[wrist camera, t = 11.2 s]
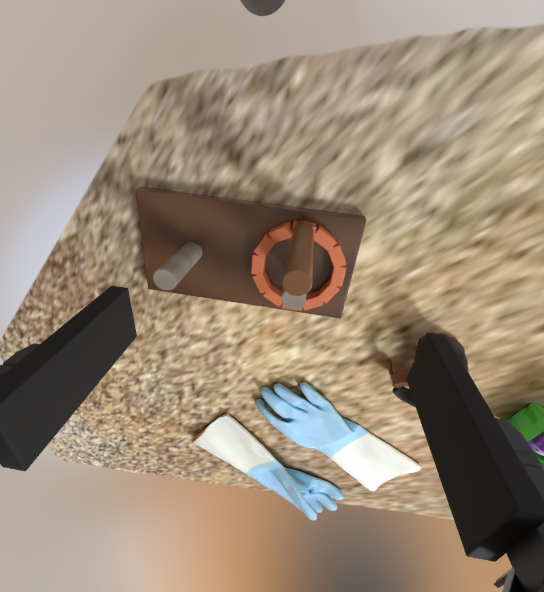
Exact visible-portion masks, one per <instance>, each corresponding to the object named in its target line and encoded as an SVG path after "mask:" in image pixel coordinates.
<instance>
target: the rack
mask: <svg viewBox="0 0 544 592" xmlns="http://www.w3.org/2000/svg"><path fill="white" fill-rule="evenodd" d="M135 191H136V199H137V206H138V214H139V221H140V229H141V237H142V244H143V252H144V259H145V267H146V275H147V282H148V289H152V290H159V291H165V292H172V293H178V294H185V295H191V296H198V297H204V298H211V299H217V300H224V301H230V302H237V303H244V304H250V305H257V306H263V307H270V308H276V309H283V310H289V311H296V312H302V313H309V314H315V315H322V316H329V317H335V318H341V316H342V312H343V308H344V304H345V300H346V296H347V293H348V289H349V285H350V281H351V277H352V274H353V270H354V266H355V262H356V258H357V254H358V251H359V247H360V243H361V239H362V235H363V231H364V228H365V224H366V218H365V216H359V215H351V214H344V213H336V212H328V211H321V210H313V209H305V208H298V207H290V206H283V205H275V204H267V203H260V202H252V201H244V200H237V199H229V198H221V197H214V196H206V195H199V194H191V193H183V192H176V191H168V190H160V189H153V188H145V187H141V188H138V189H135ZM301 220H306V221H309V222H310V223H315V224H316V228H317V227H318V226H319V225H320V226H321V227H323V228H324V229H325V230H327V231H328V232H329V233H330V234H332V235H333V236H334V237H336V239H337V241H339V243H340V246H341V249H342V252H343V255H344V257H345V261H346V272H345V276H344V280H343V284H342V287H340V290H339V291H338V292H337V293H336V294H335V295H334V296H333V297H332V298H331V299H330V300H329V301H328V302H327V303H325V302H324V301H323V305H322V306H319V307H315V308H312V309H309V310H306V311H305V310H304V308H303V306H304V305H305V303H306V295H307V294H311V293H314V292H317V291H319V290H320V289H321V288H322V287H323V286H324V285H325V283H326V282H327V281H328V280H329V279H330V276H331V271H332V267H333V264H332V261H331V258H330V256H329V253H328V251H327V250H326V249H325V248H323V247H322V246H321V245H319V244H318V243H317V242H315V241H314V243H313V277H312V287H311V289H310V291H309V292H308V293H306V294H305V295H302V296H293V295H291V294H289V293H287V292H286V291H285V289H284V288H283V285H282V280H283V276H284V271H285V267H286V262H287V257H288V253H289V248H290V244H291V239H292V237H290V238H288V239H285V240H283V241H280V242H278V243H275V244H274V246H273V247H272V248H271V250H270V251H269V252H268V253H267V255H266V259H265V272H266V274H267V276H268V278H269V280H270V282H271V284H272V285H274V286H275V287H277V288H278V289H279V290H281V291H282V292H283V293H282V298H281V300H282V303H283V305H284V306H285V307H286V308H288V309H285V308H282V304H281V305H280V306H279V307H278V306H277V305H275V304H274V303H272V302H271V301H269V300H268V299H267V298H265V297H264V296H263V294H264V293H260V291H259V289H258V287H257V285H256V283H255V282H254V280H253V278H252V276H253V274H251V270H252V255H253V253H254V250H255V248H256V246H257V245H258V244H259V242H260V241H261V240H262V238H263V237H264V235H265V234H266V233H267V232H269V231H270V229H272V228H275V227H277V226H280V225H282V224H284V223H287V222H289V221H290V222H291V224H292V226H293V222H294V221H301ZM300 308H302V311H298V309H300Z"/></svg>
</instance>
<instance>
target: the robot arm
mask: <svg viewBox="0 0 544 592" xmlns="http://www.w3.org/2000/svg"><path fill="white" fill-rule="evenodd" d="M136 337H137V334H136V329H135V324H134V318H133V313H132V308H131V302H130V297H129V292H128V288H123V287H117V286H111V287H109V288H108V289H107V290H106V291H105V292H103V293H102V294H101V295H100V296H98V297H97V298H96V299H95V300H94V301H92V302H91V303H90V304H89V305H87V306H86V307H85V308H84V309H83V310H81V311H80V312H79V313H78V314H76V315H75V316H74V317H73V318H72V319H70V320H69V321H68V322H67V323H65V324H64V325H63V326H62V327H61V328H59V329H58V330H57V331H56V332H54V333H53V334H52V335H51V336H50V337H48V338H47V339H46V340H45V341H43V342H42V343H41V344H32V345H30V346H28V347H26V348H24V349H22V350H20V351H18V352H16V353H15V354H14V355H13V356H11V357H10V358H9V359H7V360H6V361H5V362H4V363H3V365H0V464H1V466H3V467H6V468H11V469H16V470H21V471H26V470H27V469H28V468H29V467H30V465H31V464H32V463H33V462H34V460H35V459H36V458H37V457H38V456H39V454H40V453H41V452H42V451H43V450H44V448H45V447H46V446H47V445H48V443H49V442H50V441H51V440H52V439H53V437H54V436H55V435H56V434H57V433H58V431H59V430H60V429H61V428H62V426H63V425H64V424H65V423H66V422H67V420H68V419H69V418H70V417H71V416H72V414H73V413H74V412H75V411H76V409H77V408H78V407H79V406H80V405H81V403H82V402H83V401H84V400H85V399H86V397H87V396H88V395H89V394H90V392H91V391H92V390H93V389H94V388H95V386H96V385H97V384H98V383H99V382H100V380H101V379H102V378H103V377H104V375H105V374H106V373H107V372H108V371H109V369H110V368H111V367H112V366H113V365H114V363H115V362H116V361H117V360H118V358H119V357H120V356H121V355H122V354H123V352H124V351H125V350H126V349H127V348H128V346H129V345H130V344H131V343H132V341H133V340H134V339H135V338H136ZM406 380H407V383H408V386H409V389H410V392H411V395H412V398H413V401H414V403H415V406H416V409H417V412H418V415H419V418H420V421H421V424H422V427H423V430H424V433H425V436H426V439H427V442H428V444H429V447H430V450H431V453H432V456H433V459H434V462H435V465H436V468H437V471H438V474H439V477H440V480H441V483H442V485H443V488H444V491H445V494H446V497H447V500H448V503H449V506H450V509H451V512H452V515H453V518H454V521H455V524H456V526H457V529H458V532H459V535H460V538H461V541H462V544H463V547H464V550H465V553H466V556H469V557H473V558H479V559H483V560H489V561H494V562H495V561H497V560H498V559H499V558H500V557H501V556H503V555H504V554H505V553H507V555H508V558H509V560H510V562H511V565H512V567H513V568H512V569H510V570H509V571H507V572H506V573H505V574H503V575H502V576H501V577H499V578H498V579H497V580H496V582H495V583H494V585H495V586H496V587H498V588H499V587H501V586H502V585H504V588H503V591H502V592H544V469H543V468H542V466H543V465H542V464H541V462H540V461H539V459H538V458H537V456H536V455H534V454H533V452H534V451H533V450H532V448H531V447H530V445H529V444H528V442H527V441H526V439H525V438H524V436H523V435H522V434H521V433H520V432H519V431H518V430H517V429H516V428H515V427H514V426H513V425H512V424H511V423H510V422H509V421H508V420H504V419H498V418H495V417H494V415H493V414H492V412H491V410H490V408H489V407H488V405H487V403H486V402H485V400H484V398H483V397H482V395H481V393H480V392H479V390H478V388H477V387H476V385H475V383H474V382H473V380H472V378H471V376H470V375H469V373H468V371H467V370H466V368H465V366H464V365H463V363H462V361H461V360H460V358H459V356H458V355H457V353H456V351H455V349H454V348H453V346H452V344H451V343H450V341H449V339H448V338H447V336H446V335H441V334H434V333H428V332H427V334H426V337H425V339H424V341H423V343H422V345H421V347H420V350H419V352H418V354H417V356H416V358H415V360H414V363H413V365H412V367H411V369H410V371H409V374H408V376H407V378H406Z"/></svg>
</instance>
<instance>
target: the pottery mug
mask: <svg viewBox="0 0 544 592" xmlns="http://www.w3.org/2000/svg"><path fill="white" fill-rule="evenodd" d="M441 335H445V334H441ZM446 336H447V335H446ZM425 337H426V335H425V336H424V337H421V338H419V339H418V343H417V344H418V347H417V350H416V354H415V357H414V360H415V358H416V356H417V354H418V352H419V350H420V347H421V345H422V343H423V341H424V339H425ZM447 338H448V339H449V341H450V343H451V344H452V346H453V348H454V349H455V351H456V353H457V355H458V356H459V358H460V360H461V361H462V363H463V365H464V366H465V368H466V370H467V371H468V363H467V359H466V356H465V351H464V348H463V346H462V345H461V344H460V343H459V342H458V341H457V340H455V339H454V338H452V337H449V336H447ZM393 367H394V364H393V362H392V361H389V374H390V377H391V380H392V382H393V386H394V388H393V393H394V394H395V395H396V396H397V397H398V398H399V399H401V400H402V401H404V402H406V403H408V404H410V405H412V406H414V407H416V406H415V403H414V401H413V398H412V395H411V392H410V390H409V389H408V388H406V387H404V386H408V383H407V380H406V378H407V376H408V374H409V371H410V369H408V370H401V371H399V372H394V373H393Z"/></svg>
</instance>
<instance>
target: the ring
mask: <svg viewBox="0 0 544 592" xmlns="http://www.w3.org/2000/svg"><path fill="white" fill-rule="evenodd" d="M290 237H292V239H291V244H290V248H289V253H288V257H287V262H286V267H285V271H284V276H283V280H282V285H283V288H284V289H285V291H286V292H287V293H289V294H291V295H293V296H302V295H305V294H306V293H308V292H309V291H310V289H311V287H312V277H313V243H314V241H315V242H317V243H318V244H319V245H321V246H322V247H323V248H325V249H326V250H327V251H328V253H329V256H330V258H331V261H332V264H333V267H332V271H331V276H330V279H329V280H328V281H327V282H326V283H325V285H324V286H323V287H322V288H321V289H320V290H319V291H317V292H314V293H311V294H307V295H306V303H305V305H304V306H303V308H304V310H305V311H306V310H309V309H312V308H315V307H319V306H322V305H323V301H324V302H325V303H327V302H328V301H329V300H330V299H331V298H332V297H333V296H334V295H335V294H336V293H337V292H338V291H339V290H340V287H342V284H343V280H344V276H345V272H346V261H345V257H344V255H343V252H342V249H341V246H340V243H339V241H337V239H336V237H334V236H333V235H332V234H330V233H329V232H328V231H327V230H325V229H324V228H323V227H321V226H320V225H319V226H318V227H317V228H316V224H315V223H310V222H309V221H306V220H301V221H294V222H293V226H292V224H291V222H290V221H289V222H287V223H284V224H282V225H280V226H277V227H275V228H272V229H270V231H269V232H267V233H266V234H265V235H264V237H263V238H262V240H261V241H260V242H259V244H258V245H257V246H256V248H255V250H254V253H253V255H252V270H251V274H253V276H252V278H253V280H254V282H255V283H256V285H257V287H258V289H259V291H260V293H264V294H263V296H264V297H265V298H267V299H268V300H269V301H271V302H272V303H274V304H275V305H277V306H278V307H279V306H280V305H281V304H282V308H285V309H288V308H286V307H285V306H284V305H283V303H282V300H281V298H282V293H283V292H282V291H281V290H279V289H278V288H277V287H275V286H274V285H272V284H271V282H270V280H269V278H268V276H267V274H266V272H265V259H266V255H267V253H268V252H269V251H270V250H271V248H272V247H273V246H274V244H275V243H278V242H280V241H283V240H285V239H288V238H290ZM298 311H302V308H300V309H298Z"/></svg>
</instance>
